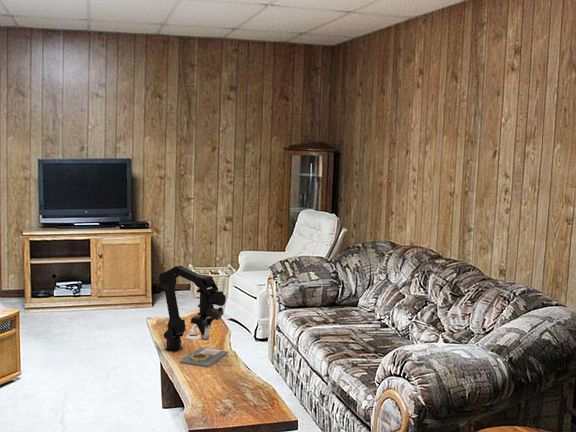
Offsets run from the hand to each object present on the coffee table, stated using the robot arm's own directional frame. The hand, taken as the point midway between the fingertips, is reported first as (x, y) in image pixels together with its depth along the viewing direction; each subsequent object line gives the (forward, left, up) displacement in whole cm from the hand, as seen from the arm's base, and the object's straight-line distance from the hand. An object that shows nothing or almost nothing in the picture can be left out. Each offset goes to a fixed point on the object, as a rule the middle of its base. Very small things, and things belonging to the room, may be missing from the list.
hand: (205, 334), depth 329 cm
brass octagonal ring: (0, -6, -11) cm, 12 cm away
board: (0, -1, -12) cm, 12 cm away
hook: (-20, +27, -12) cm, 36 cm away
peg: (0, 0, -3) cm, 2 cm away
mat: (0, +6, -11) cm, 12 cm away
